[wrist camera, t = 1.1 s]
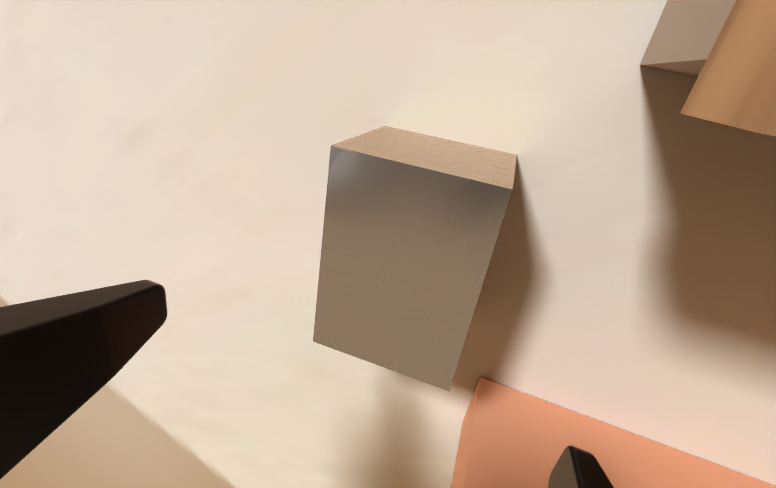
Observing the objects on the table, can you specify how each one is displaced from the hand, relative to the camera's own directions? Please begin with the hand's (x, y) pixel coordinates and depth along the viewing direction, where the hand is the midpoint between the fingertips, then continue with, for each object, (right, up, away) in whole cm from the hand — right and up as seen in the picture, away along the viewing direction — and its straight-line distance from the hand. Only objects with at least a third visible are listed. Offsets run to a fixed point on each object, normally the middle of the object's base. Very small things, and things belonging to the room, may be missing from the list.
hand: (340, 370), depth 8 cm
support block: (+3, +3, +8) cm, 9 cm away
